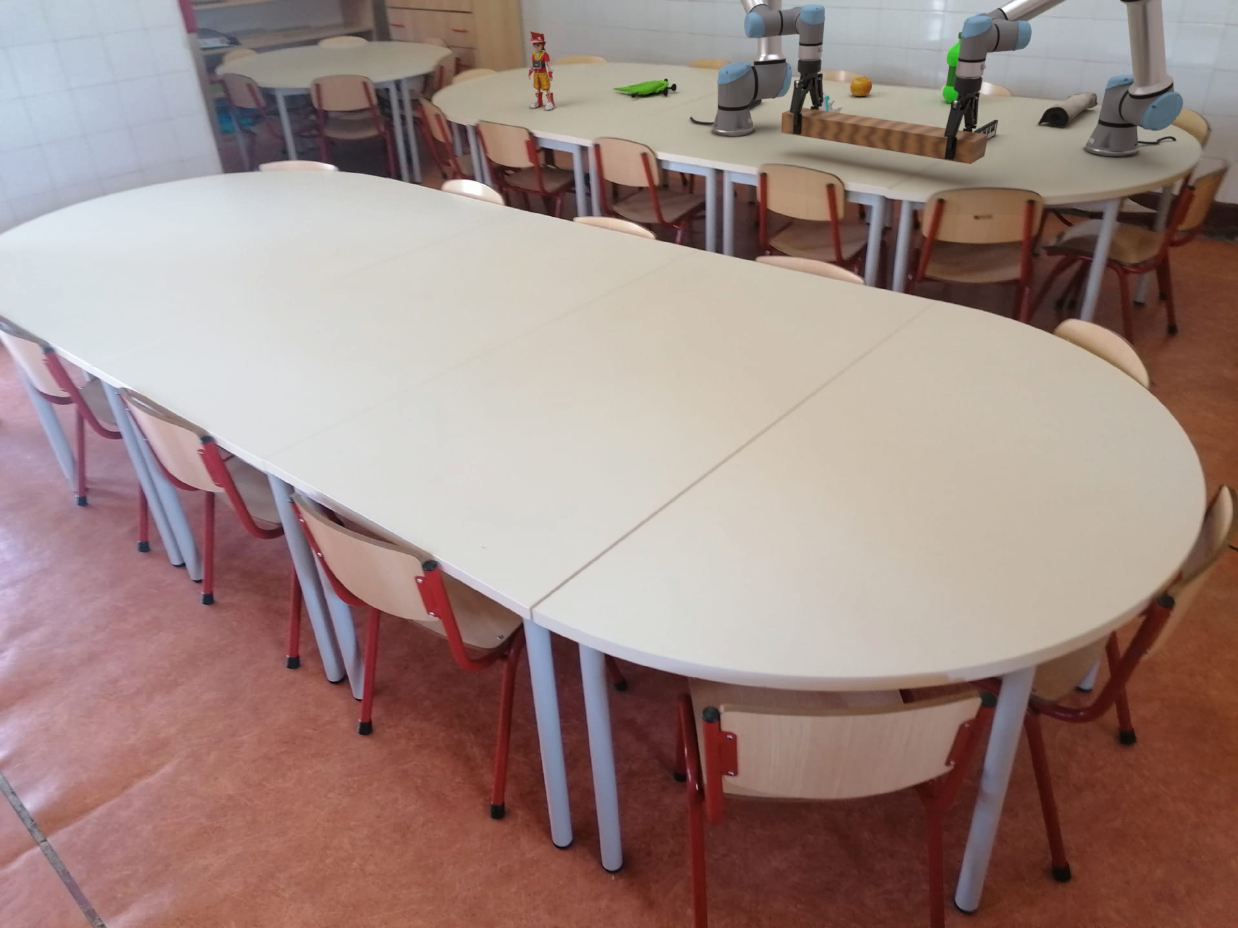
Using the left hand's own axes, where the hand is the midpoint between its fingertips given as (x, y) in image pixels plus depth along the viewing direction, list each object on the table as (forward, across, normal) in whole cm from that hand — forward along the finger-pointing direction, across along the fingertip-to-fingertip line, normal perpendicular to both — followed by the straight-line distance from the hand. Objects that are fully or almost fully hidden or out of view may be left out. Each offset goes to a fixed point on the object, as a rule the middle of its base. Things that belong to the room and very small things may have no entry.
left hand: (805, 130), depth 303 cm
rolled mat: (+8, +90, -55) cm, 106 cm away
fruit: (+9, +83, +26) cm, 88 cm away
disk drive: (+9, +45, +58) cm, 74 cm away
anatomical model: (+8, +45, +18) cm, 49 cm away
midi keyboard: (+8, +46, -43) cm, 64 cm away
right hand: (0, 0, -54) cm, 54 cm away
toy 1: (+9, +1, +131) cm, 131 cm away
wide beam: (+1, 0, -27) cm, 27 cm away
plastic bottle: (+9, +92, -11) cm, 93 cm away
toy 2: (+9, +43, +112) cm, 120 cm away
